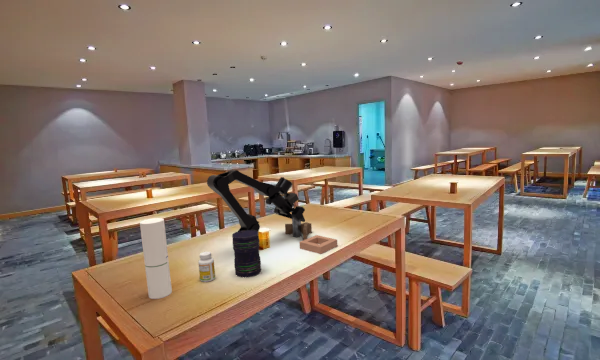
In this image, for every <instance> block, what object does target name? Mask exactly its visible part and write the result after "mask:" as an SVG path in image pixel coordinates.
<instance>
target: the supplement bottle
mask: <svg viewBox="0 0 600 360" xmlns="http://www.w3.org/2000/svg"><path fill="white" fill-rule="evenodd" d="M214 261H215V260H214V258H213V257H212V251H202V252H200V253H199V260H198V262H197V263H198V264H197V265H198V273H199V280H200V282H204V283H207V282H211V281H213V280H215V278H216V270H215V262H214Z"/></svg>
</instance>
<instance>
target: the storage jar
mask: <svg viewBox="0 0 600 360" xmlns="http://www.w3.org/2000/svg"><path fill="white" fill-rule="evenodd" d="M231 237H232V249H233V252H234V254H233V256H234V258H233V261H234V264H233V265H234V271H235V274H234V275H235V276H236V275H237V276H236V277H238V278H243V277H244V278H245V277H246V278H252V277H256V276H257V275H259V274H260V273H261V272H262V268H261V266H262V262H261V256H260V245H261V244H260V237H259V231H255V230H242V231H235V232H234V233H232V235H231ZM246 278H245V279H246Z"/></svg>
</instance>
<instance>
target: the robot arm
mask: <svg viewBox="0 0 600 360" xmlns="http://www.w3.org/2000/svg"><path fill="white" fill-rule="evenodd" d="M278 179H279V180H278V182H276V184H275V185H273V184H272V183H271V184H270V183H267V182H263V181H259V180H257V179H256V178H253V177H251V176H249V175H246V174H244V173H243V172H241V171H239V170H237V169H230V170H228V171H225V172H222V173H220V174H217V175H216V174H211V175H209V176H208V178H207V181H206V184H207V186H208V187H209V189H211V190H212V191H213V192H214V193H215V194H217V195H218V196H219V197H220V198H221V199H222V200H223V202H225V204H226V205H227V207H228V208H229V209H230V210H231V212H232V213H233V214H234V216H235V217H236V219H238V222H239V229H238V231H242V230H255V231H258V232H259V231H260V227H261V225H260V221H258V219H257V217H256V216H255V215H253V214H250V213H249V214H248V213H247V212H246V211H245V209H244V208H243V206H242V205H241V204H240V203H239V201H238V199H236V197H235V195H234V194H233V193H232V192H231V190H230V186H229V184H233V182H234V181H236V182H238V183H241V184H243V185H245V186H247V187H249V188H252V189H253V190H255V192H256V193H257V194H259V195H261V196H265V197H267V198H265V204H266V205H272V204H273V206H274V207H275V208H274V209H273V212H274V214H276V215H277V216H281V217H284V218H288V219H291V220H292V217H293V218H294V219H296V220H299V221H301V223H305V221H306V219H305V216H304V212H305V211H306V209H305V208H304V207H303V206H299V205H296V206H295V204H296V203H297V201H299V200H300V197H299V196H298V194H297V193H296V192H289V191H290V189H291V188H292V186H293V183H292V182H291V181H290V180H288V179H287V178H285V177H283V176H281V177H280V178H278ZM294 206H295V207H294ZM238 231H237V232H238Z"/></svg>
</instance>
